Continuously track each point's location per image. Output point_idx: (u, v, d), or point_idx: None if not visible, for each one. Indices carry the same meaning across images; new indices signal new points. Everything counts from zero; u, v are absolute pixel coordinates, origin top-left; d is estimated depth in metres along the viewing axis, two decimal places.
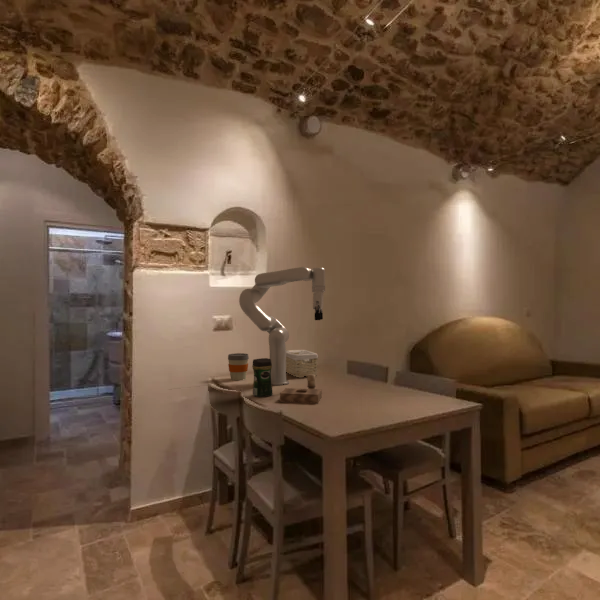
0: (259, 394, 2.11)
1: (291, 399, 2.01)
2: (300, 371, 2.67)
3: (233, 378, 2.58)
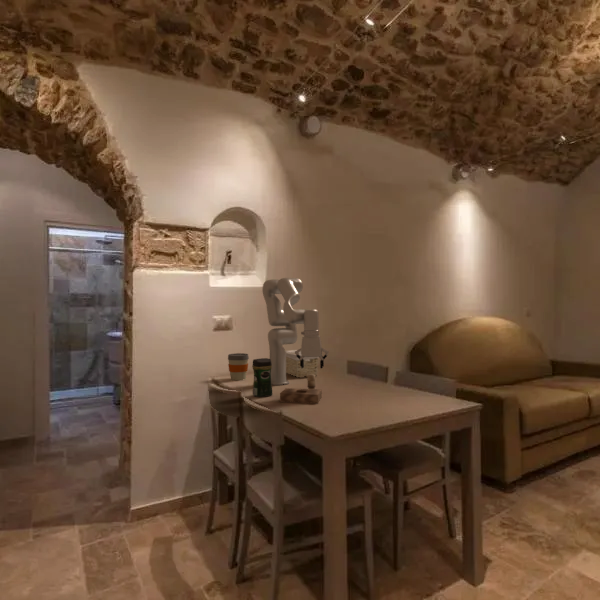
0: (259, 394, 2.11)
1: (291, 399, 2.01)
2: (301, 371, 2.67)
3: (233, 378, 2.58)
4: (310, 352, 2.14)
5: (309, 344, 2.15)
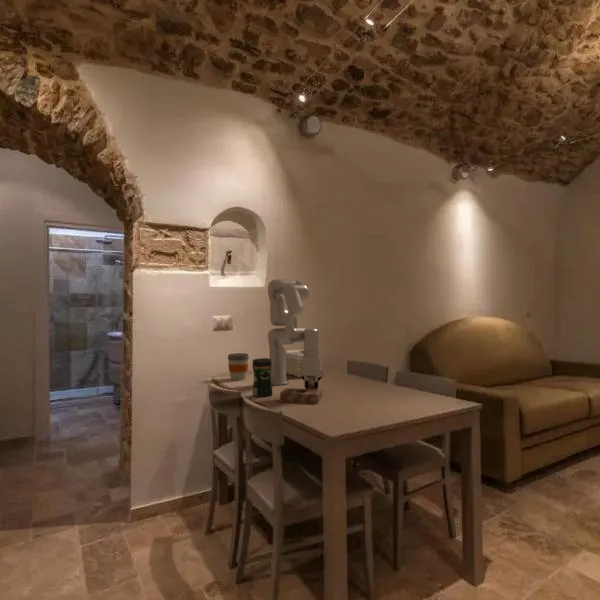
0: (259, 394, 2.11)
1: (291, 399, 2.01)
2: None
3: (233, 378, 2.58)
4: (310, 371, 2.15)
5: (309, 363, 2.15)
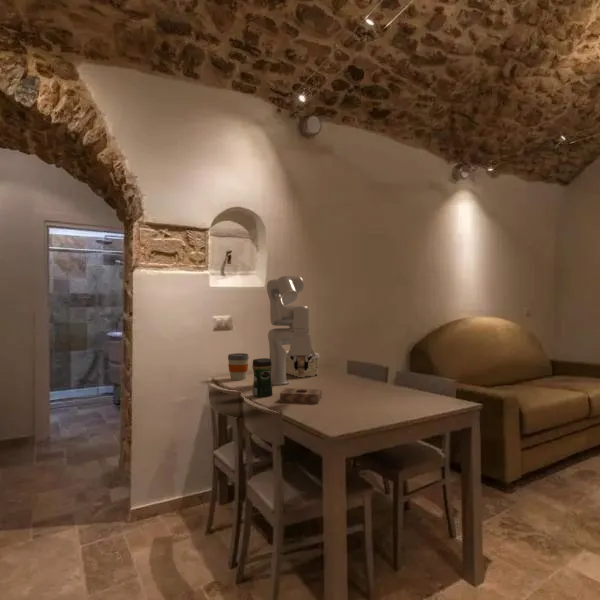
0: (259, 394, 2.11)
1: (291, 399, 2.01)
2: None
3: (233, 378, 2.58)
4: (299, 351, 2.03)
5: (298, 342, 2.03)
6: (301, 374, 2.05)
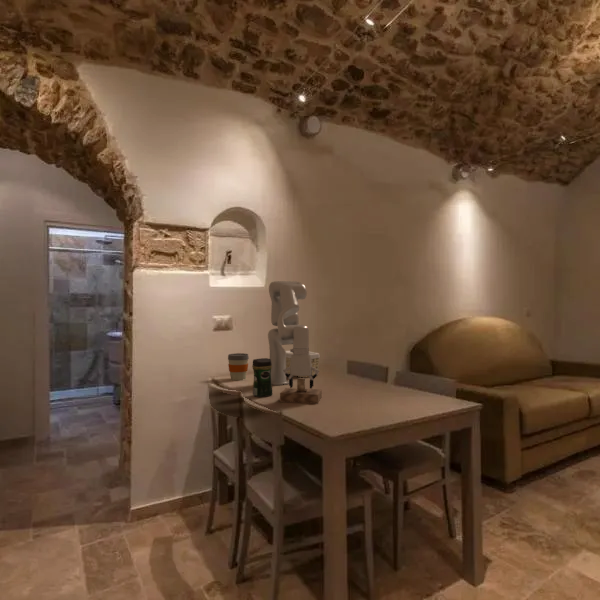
0: (259, 394, 2.11)
1: (291, 399, 2.01)
2: None
3: (233, 378, 2.58)
4: (299, 371, 2.03)
5: (298, 363, 2.03)
6: None
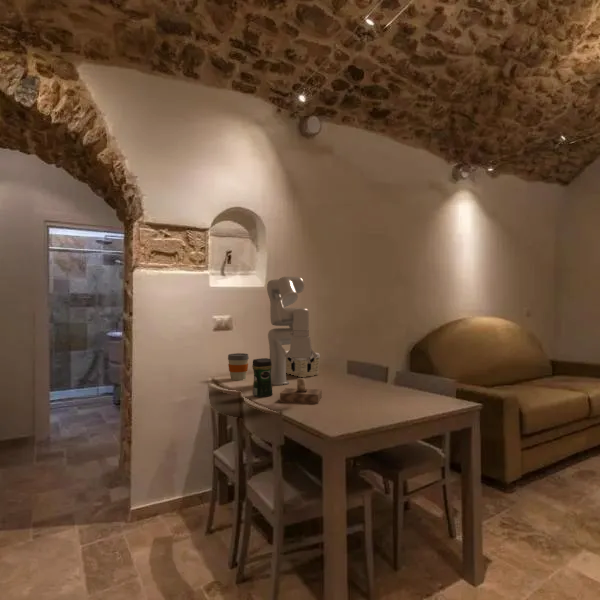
0: (259, 394, 2.11)
1: (291, 399, 2.01)
2: (304, 371, 2.67)
3: (233, 378, 2.58)
4: (299, 353, 2.03)
5: (298, 345, 2.04)
6: None
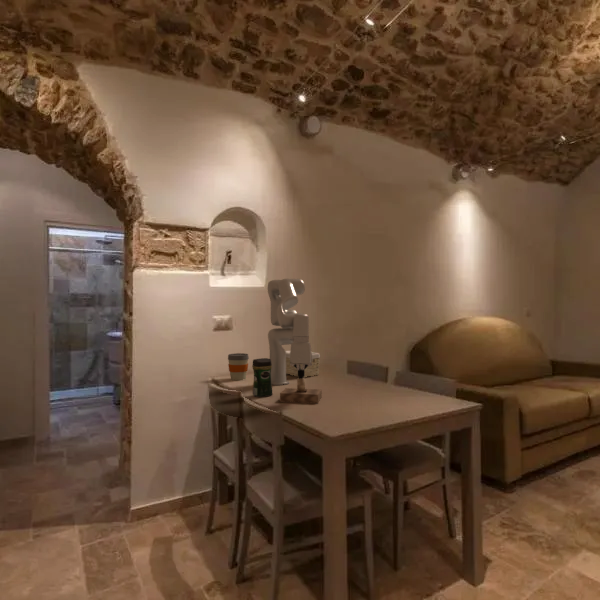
0: (259, 394, 2.11)
1: (291, 399, 2.01)
2: (305, 371, 2.67)
3: (233, 378, 2.58)
4: (299, 359, 2.03)
5: (298, 351, 2.04)
6: None
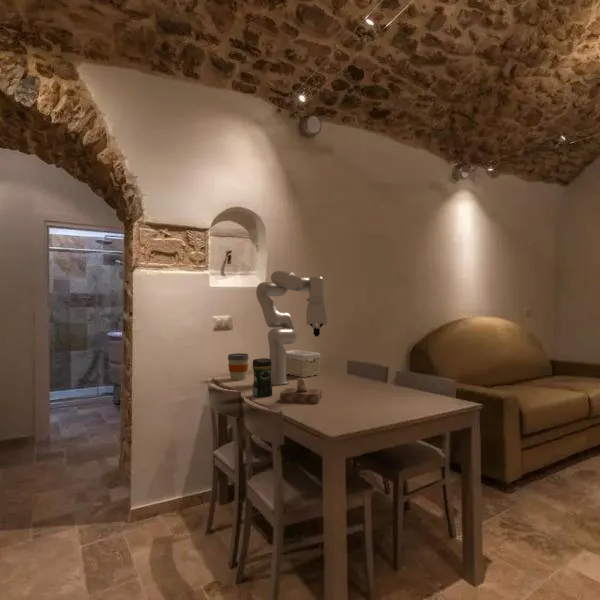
0: (259, 394, 2.11)
1: (291, 399, 2.01)
2: (306, 371, 2.67)
3: (233, 378, 2.58)
4: (315, 318, 2.19)
5: (314, 310, 2.19)
6: None
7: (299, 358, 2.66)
